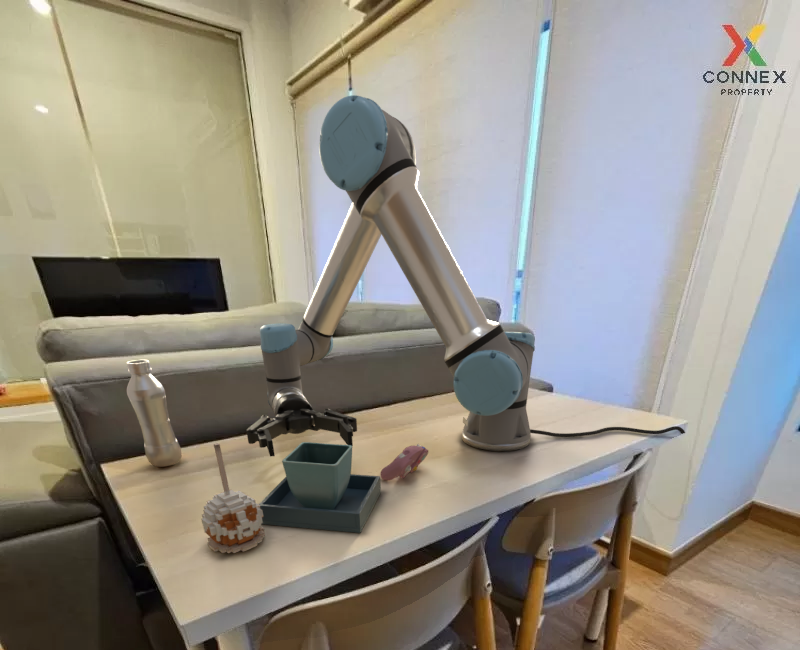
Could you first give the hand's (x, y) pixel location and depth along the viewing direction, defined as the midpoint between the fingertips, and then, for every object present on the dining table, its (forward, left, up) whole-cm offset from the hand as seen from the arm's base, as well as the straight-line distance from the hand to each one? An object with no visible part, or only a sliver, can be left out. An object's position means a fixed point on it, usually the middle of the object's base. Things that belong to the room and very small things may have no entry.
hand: (311, 443), depth 79 cm
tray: (-4, +7, -9) cm, 11 cm away
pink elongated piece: (-15, -9, -9) cm, 20 cm away
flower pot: (-4, +7, -8) cm, 11 cm away
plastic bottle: (+34, -6, -9) cm, 36 cm away
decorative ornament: (+5, +19, -9) cm, 22 cm away
